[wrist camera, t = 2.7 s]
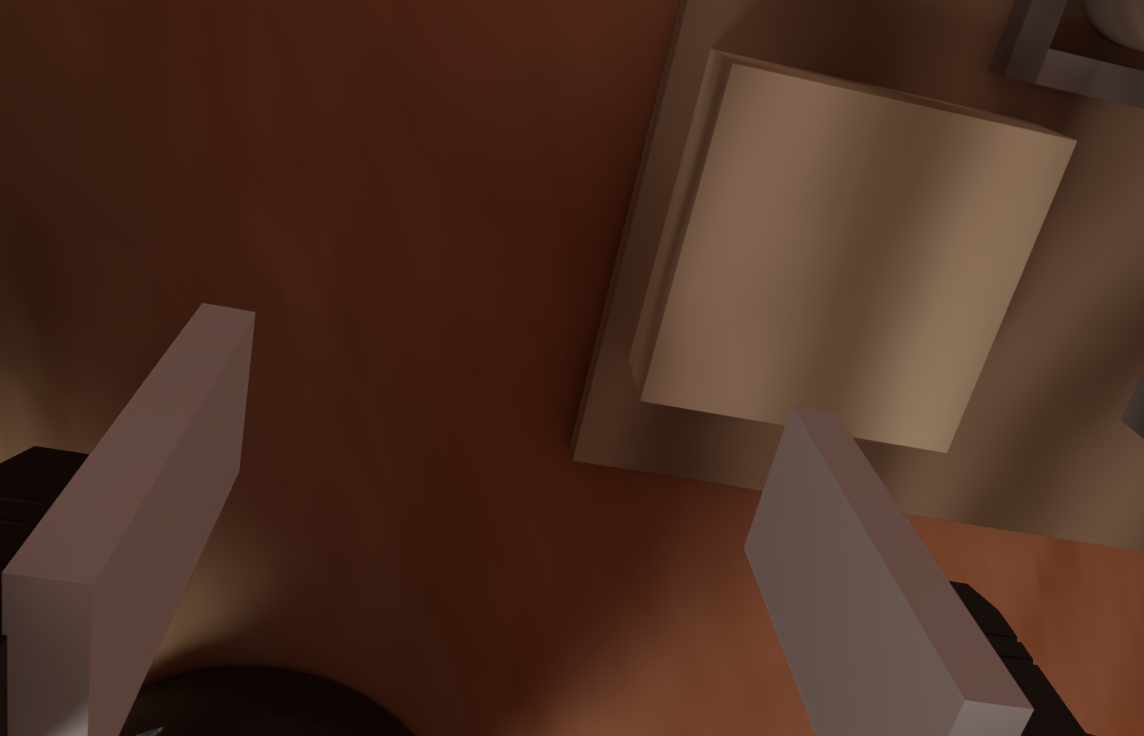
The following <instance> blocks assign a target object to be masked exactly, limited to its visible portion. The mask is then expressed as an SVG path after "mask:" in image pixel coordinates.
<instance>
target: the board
mask: <svg viewBox="0 0 1144 736" xmlns="http://www.w3.org/2000/svg"><path fill="white" fill-rule="evenodd" d="M711 49H715V50H719V51H723V52H728V53H732V54H737V55H741V56H746V57H750V58H754V59H759V60H763V61H768V62H772V63H777V64H781V65H785V66H790V67H794V68H799V69H803V70H807V71H812V72H816V73H821V74H825V75H830V76H834V77H838V78H843V79H847V80H852V81H856V82H861V83H865V84H869V85H874V86H878V87H883V88H887V89H891V90H896V91H900V92H905V93H909V94H914V95H918V96H922V97H927V98H931V99H936V100H940V101H945V102H949V103H953V104H958V105H962V106H967V107H971V108H975V109H980V110H984V111H989V112H993V113H998V114H1002V115H1006V116H1011V117H1015V118H1020V119H1024V120H1027V121H1030V122H1032V123H1035V124H1037V125H1040V126H1042V127H1045V128H1047V129H1050V130H1052V131H1054V132H1057V133H1059V134H1062V135H1064V136H1067V137H1069V138H1072V139H1074V140H1077V143H1076V145H1075V148H1074V150H1073V153H1072V155H1071V157H1070V160H1069V162H1068V164H1067V167H1066V169H1065V172H1064V174H1063V176H1062V179H1061V181H1060V184H1059V186H1058V188H1057V191H1056V193H1055V196H1054V198H1053V200H1052V203H1051V205H1050V208H1049V210H1048V212H1047V215H1046V217H1045V220H1044V222H1043V224H1042V227H1041V229H1040V232H1039V234H1038V236H1037V239H1036V241H1035V244H1034V246H1033V248H1032V251H1031V253H1030V255H1029V258H1028V260H1027V263H1026V265H1025V267H1024V270H1023V272H1022V275H1021V277H1020V279H1019V282H1018V284H1017V287H1016V289H1015V291H1014V294H1013V296H1012V299H1011V301H1010V303H1009V306H1008V308H1007V311H1006V313H1005V315H1004V318H1003V320H1002V323H1001V325H1000V327H999V330H998V332H997V334H996V337H995V339H994V342H993V344H992V346H991V349H990V351H989V354H988V356H987V358H986V361H985V363H984V366H983V368H982V370H981V373H980V375H979V378H978V380H977V382H976V385H975V387H974V390H973V392H972V394H971V397H970V399H969V402H968V404H967V406H966V409H965V411H964V414H963V416H962V418H961V421H960V423H959V425H958V428H957V430H956V433H955V435H954V437H953V440H952V442H951V445H950V447H949V449H948V452H947V453H943V452H937V451H931V450H925V449H920V448H914V447H908V446H902V445H896V444H890V443H884V442H879V441H873V440H867V439H861V438H855V437H853V439H854V440H855V442H856V443H857V445H858V446H859V448H860V449H861V451H862V452H863V454H864V455H865V457H866V458H867V460H868V461H869V463H870V464H871V466H872V467H873V469H874V470H875V472H876V473H877V475H878V476H879V478H880V479H881V481H882V482H883V484H884V485H885V487H886V488H887V490H888V491H889V493H890V494H891V496H892V497H893V499H894V500H895V502H896V503H897V505H898V506H899V508H900V509H901V511H902V512H903V513H904V514H910V515H916V516H923V517H929V518H935V519H941V520H948V521H954V522H960V523H966V524H973V525H979V526H985V527H992V528H998V529H1004V530H1010V531H1017V532H1023V533H1029V534H1035V535H1042V536H1048V537H1054V538H1060V539H1067V540H1073V541H1079V542H1085V543H1092V544H1098V545H1104V546H1111V547H1117V548H1123V549H1129V550H1136V551H1142V552H1144V52H1143V51H1138V50H1134V49H1130V48H1125V47H1121V46H1118V45H1115V44H1112V43H1111V42H1109V41H1107V40H1105V39H1104V38H1102V37H1101V36H1100V35H1098V34H1097V33H1096V31H1095V30H1094V29H1093V28H1092V27H1091V25H1090V24H1089V23H1088V21H1087V19H1086V17H1085V15H1084V13H1083V10H1082V6H1081V3H1080V0H680V2H679V6H678V10H677V14H676V18H675V22H674V26H673V30H672V34H671V38H670V42H669V46H668V50H667V54H666V58H665V62H664V66H663V70H662V75H661V79H660V83H659V87H658V91H657V95H656V99H655V103H654V107H653V111H652V115H651V119H650V123H649V127H648V131H647V135H646V139H645V143H644V147H643V151H642V155H641V159H640V163H639V167H638V171H637V175H636V180H635V184H634V188H633V192H632V196H631V200H630V204H629V208H628V212H627V216H626V220H625V224H624V228H623V232H622V236H621V240H620V244H619V248H618V252H617V256H616V260H615V264H614V268H613V272H612V276H611V280H610V285H609V289H608V293H607V297H606V301H605V305H604V309H603V313H602V317H601V321H600V325H599V329H598V333H597V337H596V341H595V345H594V349H593V353H592V357H591V361H590V365H589V369H588V373H587V377H586V381H585V386H584V390H583V394H582V398H581V402H580V406H579V410H578V414H577V418H576V422H575V426H574V430H573V434H572V438H571V442H570V446H571V454H572V461H578V462H584V463H591V464H597V465H603V466H609V467H616V468H622V469H628V470H635V471H641V472H647V473H653V474H660V475H666V476H672V477H678V478H685V479H691V480H697V481H703V482H710V483H716V484H722V485H728V486H735V487H741V488H747V489H754V490H760V491H763V489H764V487H765V484H766V481H767V478H768V475H769V472H770V469H771V466H772V463H773V460H774V457H775V454H776V451H777V449H778V446H779V443H780V440H781V437H782V434H783V431H784V428H785V425H779V424H773V423H767V422H761V421H755V420H749V419H743V418H738V417H732V416H726V415H720V414H714V413H708V412H702V411H697V410H691V409H685V408H679V407H673V406H667V405H661V404H655V403H650V402H644V401H640V398H639V395H638V391H637V388H636V384H635V381H634V377H633V374H632V370H631V367H630V363H629V357H630V353H631V349H632V345H633V341H634V338H635V334H636V330H637V326H638V323H639V319H640V315H641V311H642V307H643V304H644V300H645V296H646V292H647V288H648V285H649V281H650V277H651V273H652V269H653V266H654V262H655V258H656V254H657V251H658V247H659V243H660V239H661V235H662V232H663V228H664V224H665V220H666V216H667V213H668V209H669V205H670V201H671V197H672V194H673V190H674V186H675V182H676V179H677V175H678V171H679V167H680V163H681V160H682V156H683V152H684V148H685V144H686V141H687V137H688V133H689V129H690V125H691V122H692V118H693V114H694V110H695V107H696V103H697V99H698V95H699V91H700V88H701V84H702V80H703V76H704V72H705V69H706V65H707V61H708V57H709V53H710V50H711Z"/></svg>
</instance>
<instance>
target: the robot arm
mask: <svg viewBox="0 0 1144 736" xmlns="http://www.w3.org/2000/svg"><path fill="white" fill-rule="evenodd" d="M255 313H256V312H252V311H246V310H241V309H235V308H229V307H223V306H218V305H212V304H206V303H202V304H201V305H200V307H199V308H198V309H197V311H196V312H195V313H194V315H193V316H192V317H191V319H190V320H189V321H188V323H187V324H186V326H185V327H184V328H183V330H182V331H181V332H180V334H179V335H178V336H177V338H176V339H175V340H174V342H173V343H172V344H171V346H170V347H169V348H168V350H167V351H166V352H165V354H164V355H163V356H162V358H161V359H160V361H159V362H158V363H157V365H156V366H155V367H154V369H153V370H152V371H151V373H150V374H149V375H148V377H147V378H146V379H145V381H144V382H143V383H142V385H141V386H140V387H139V389H138V390H137V391H136V393H135V394H134V396H133V397H132V398H131V400H130V401H129V402H128V404H127V405H126V406H125V408H124V409H123V410H122V412H121V413H120V414H119V416H118V417H117V418H116V420H115V421H114V422H113V424H112V425H111V426H110V428H109V429H108V431H107V432H106V433H105V435H104V436H103V437H102V439H101V440H100V441H99V443H98V444H97V445H96V447H95V448H94V449H93V451H92V452H91V453H90V454H84V453H77V452H71V451H64V450H57V449H51V448H44V447H37V446H34V447H32V448H30V449H28V450H26V451H24V452H22V453H20V454H18V455H16V456H14V457H12V458H10V459H8V460H6V461H4V462H2V463H0V736H413V735H412V734H411V733H410V732H409V731H408V730H407V729H406V728H405V727H404V726H403V725H402V724H401V723H400V722H399V721H398V720H396V719H395V718H394V717H393V716H392V715H390V714H389V713H388V712H386V711H385V710H384V709H382V708H381V707H379V706H378V705H376V704H375V703H373V702H372V701H370V700H368V699H366V698H365V697H363V696H361V695H359V694H357V693H355V692H353V691H351V690H349V689H347V688H344V687H342V686H340V685H337V684H335V683H332V682H329V681H326V680H323V679H320V678H317V677H313V676H309V675H306V674H301V673H296V672H291V671H285V670H279V669H270V668H257V667H228V668H216V669H208V670H201V671H196V672H191V673H186V674H182V675H178V676H175V677H171V678H168V679H165V680H162V681H159V682H157V683H154V684H152V685H149V686H147V687H145V688H143V689H141V690H140V688H141V686H142V683H143V681H144V679H145V677H146V675H147V672H148V670H149V668H150V666H151V664H152V662H153V659H154V657H155V655H156V653H157V651H158V648H159V646H160V644H161V642H162V640H163V637H164V635H165V633H166V631H167V629H168V626H169V624H170V622H171V620H172V618H173V616H174V613H175V611H176V609H177V607H178V605H179V602H180V600H181V598H182V596H183V594H184V591H185V589H186V587H187V585H188V583H189V580H190V578H191V576H192V574H193V572H194V570H195V567H196V565H197V563H198V561H199V559H200V556H201V554H202V552H203V550H204V548H205V545H206V543H207V541H208V539H209V537H210V534H211V532H212V530H213V528H214V526H215V524H216V521H217V519H218V517H219V515H220V513H221V510H222V508H223V506H224V504H225V502H226V499H227V497H228V495H229V493H230V491H231V488H232V486H233V484H234V482H235V480H236V478H237V475H238V473H239V470H240V460H241V450H242V440H243V430H244V421H245V411H246V401H247V391H248V382H249V372H250V362H251V352H252V342H253V333H254V323H255ZM744 550H745V553H746V555H747V558H748V560H749V563H750V566H751V568H752V571H753V574H754V576H755V579H756V581H757V584H758V587H759V589H760V592H761V594H762V597H763V600H764V602H765V605H766V608H767V610H768V613H769V615H770V618H771V621H772V623H773V626H774V628H775V631H776V634H777V636H778V639H779V642H780V644H781V647H782V649H783V652H784V655H785V657H786V660H787V662H788V665H789V668H790V670H791V673H792V676H793V678H794V681H795V683H796V686H797V689H798V691H799V694H800V696H801V699H802V702H803V704H804V707H805V709H806V712H807V715H808V717H809V720H810V723H811V725H812V728H813V730H814V733H815V736H1094V735H1091V734H1087V733H1085V732H1084V730H1083V729H1082V727H1081V726H1080V725H1079V723H1078V722H1077V720H1076V719H1075V717H1074V716H1073V715H1072V713H1071V712H1070V710H1069V709H1068V708H1067V706H1066V705H1065V703H1064V702H1063V701H1062V699H1061V698H1060V696H1059V695H1058V694H1057V692H1056V691H1055V689H1054V688H1053V687H1052V685H1051V684H1050V682H1049V681H1048V679H1047V678H1046V677H1045V675H1044V674H1043V672H1042V671H1041V670H1040V668H1039V667H1038V665H1033V658H1032V657H1031V656H1030V654H1029V653H1028V651H1027V650H1026V648H1025V647H1024V646H1023V644H1022V643H1021V642H1017V636H1016V634H1015V633H1014V632H1013V630H1012V629H1011V627H1010V626H1009V625H1008V623H1007V622H1006V620H1005V619H1004V617H1003V616H1002V615H1001V613H1000V612H999V610H998V609H996V608H995V607H994V606H993V605H992V604H991V603H989V602H988V601H987V600H986V599H985V598H983V597H982V596H981V595H980V594H979V593H977V592H976V591H975V590H974V589H973V588H972V587H970V586H969V585H968V584H965V583H958V582H952V581H948V580H947V578H946V577H945V575H944V574H943V572H942V571H941V569H940V568H939V566H938V565H937V563H936V562H935V560H934V559H933V557H932V556H931V554H930V553H929V551H928V550H927V548H926V547H925V545H924V544H923V542H922V541H921V539H920V538H919V536H918V535H917V533H916V532H915V530H914V529H913V527H912V526H911V524H910V523H909V521H908V520H907V518H906V517H905V515H904V514H903V512H902V511H901V509H900V508H899V506H898V505H897V503H896V502H895V500H894V499H893V497H892V496H891V494H890V493H889V491H888V490H887V488H886V487H885V485H884V484H883V482H882V481H881V479H880V478H879V476H878V475H877V473H876V472H875V470H874V469H873V467H872V466H871V464H870V463H869V461H868V460H867V458H866V457H865V455H864V454H863V452H862V451H861V449H860V448H859V446H858V445H857V443H856V442H855V440H854V439H853V437H852V436H851V434H850V433H849V431H848V430H847V428H846V427H845V425H844V424H843V422H842V421H841V419H840V418H839V416H838V415H837V414H836V413H831V412H825V411H819V410H813V409H808V408H802V407H796V406H792V408H791V410H790V413H789V416H788V419H787V422H786V425H785V428H784V431H783V434H782V437H781V440H780V443H779V446H778V449H777V451H776V454H775V457H774V460H773V463H772V466H771V469H770V472H769V475H768V478H767V481H766V484H765V487H764V489H763V492H762V495H761V498H760V501H759V504H758V507H757V510H756V513H755V516H754V519H753V522H752V525H751V527H750V530H749V533H748V536H747V539H746V542H745V545H744Z"/></svg>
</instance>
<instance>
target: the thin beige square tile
mask: <svg viewBox="0 0 1144 736" xmlns="http://www.w3.org/2000/svg"><path fill="white" fill-rule="evenodd" d="M1076 143H1077V140H1074V139H1072V138H1069V137H1067V136H1064V135H1062V134H1059V133H1057V132H1054V131H1052V130H1050V129H1047V128H1045V127H1042V126H1040V125H1037V124H1035V123H1032V122H1030V121H1027V120H1024V119H1020V118H1015V117H1011V116H1006V115H1002V114H998V113H993V112H989V111H984V110H980V109H975V108H971V107H967V106H962V105H958V104H953V103H949V102H945V101H940V100H936V99H931V98H927V97H922V96H918V95H914V94H909V93H905V92H900V91H896V90H891V89H887V88H883V87H878V86H874V85H869V84H865V83H861V82H856V81H852V80H847V79H843V78H838V77H834V76H830V75H825V74H821V73H816V72H812V71H807V70H803V69H799V68H794V67H790V66H785V65H781V64H777V63H772V62H768V61H763V60H759V59H754V58H750V57H746V56H741V55H737V54H732V53H728V52H723V51H719V50H715V49H711V50H710V53H709V57H708V61H707V65H706V69H705V72H704V76H703V80H702V84H701V88H700V91H699V95H698V99H697V103H696V107H695V110H694V114H693V118H692V122H691V125H690V129H689V133H688V137H687V141H686V144H685V148H684V152H683V156H682V160H681V163H680V167H679V171H678V175H677V179H676V182H675V186H674V190H673V194H672V197H671V201H670V205H669V209H668V213H667V216H666V220H665V224H664V228H663V232H662V235H661V239H660V243H659V247H658V251H657V254H656V258H655V262H654V266H653V269H652V273H651V277H650V281H649V285H648V288H647V292H646V296H645V300H644V304H643V307H642V311H641V315H640V319H639V323H638V326H637V330H636V334H635V338H634V341H633V345H632V349H631V353H630V357H629V363H630V367H631V370H632V374H633V377H634V381H635V384H636V388H637V391H638V395H639V398H640V401H644V402H650V403H655V404H661V405H667V406H673V407H679V408H685V409H691V410H697V411H702V412H708V413H714V414H720V415H726V416H732V417H738V418H743V419H749V420H755V421H761V422H767V423H773V424H779V425H786V422H787V419H788V416H789V413H790V410H791V408H792V406H796V407H802V408H808V409H813V410H819V411H825V412H831V413H836V414H837V415H838V416H839V418H840V419H841V421H842V422H843V424H844V425H845V427H846V428H847V430H848V431H849V433H850V434H851V436H852V437H855V438H861V439H867V440H873V441H879V442H884V443H890V444H896V445H902V446H908V447H914V448H920V449H925V450H931V451H937V452H943V453H947V452H948V449H949V447H950V445H951V442H952V440H953V437H954V435H955V433H956V430H957V428H958V425H959V423H960V421H961V418H962V416H963V414H964V411H965V409H966V406H967V404H968V402H969V399H970V397H971V394H972V392H973V390H974V387H975V385H976V382H977V380H978V378H979V375H980V373H981V370H982V368H983V366H984V363H985V361H986V358H987V356H988V354H989V351H990V349H991V346H992V344H993V342H994V339H995V337H996V334H997V332H998V330H999V327H1000V325H1001V323H1002V320H1003V318H1004V315H1005V313H1006V311H1007V308H1008V306H1009V303H1010V301H1011V299H1012V296H1013V294H1014V291H1015V289H1016V287H1017V284H1018V282H1019V279H1020V277H1021V275H1022V272H1023V270H1024V267H1025V265H1026V263H1027V260H1028V258H1029V255H1030V253H1031V251H1032V248H1033V246H1034V244H1035V241H1036V239H1037V236H1038V234H1039V232H1040V229H1041V227H1042V224H1043V222H1044V220H1045V217H1046V215H1047V212H1048V210H1049V208H1050V205H1051V203H1052V200H1053V198H1054V196H1055V193H1056V191H1057V188H1058V186H1059V184H1060V181H1061V179H1062V176H1063V174H1064V172H1065V169H1066V167H1067V164H1068V162H1069V160H1070V157H1071V155H1072V153H1073V150H1074V148H1075V145H1076Z"/></svg>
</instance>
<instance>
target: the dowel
mask: <svg viewBox="0 0 1144 736" xmlns="http://www.w3.org/2000/svg"><path fill="white" fill-rule="evenodd" d="M1080 3H1081V6H1082V10H1083V13H1084V15H1085V17H1086V19H1087V21H1088V23H1089V24H1090V25H1091V27H1092V28H1093V29H1094V30H1095V31H1096V33H1097V34H1098V35H1100V36H1101V37H1102V38H1104V39H1105V40H1107V41H1109V42H1111V43H1112V44H1115V45H1118V46H1121V47H1125V48H1130V49H1134V50H1138V51H1143V52H1144V0H1080Z"/></svg>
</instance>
